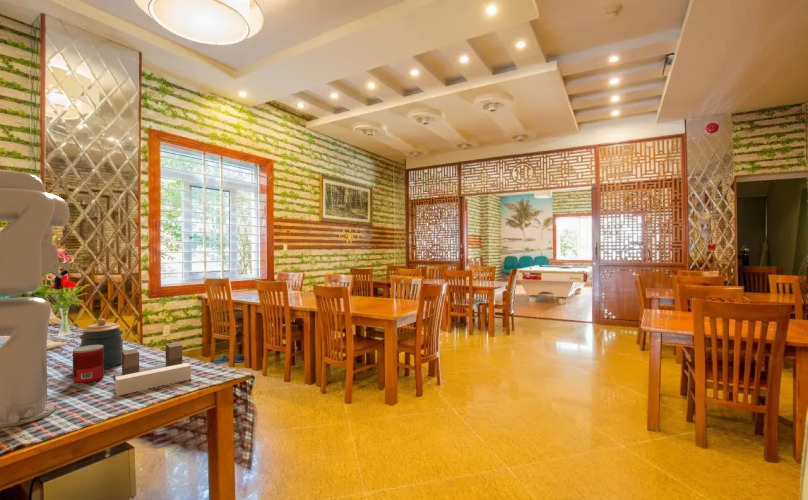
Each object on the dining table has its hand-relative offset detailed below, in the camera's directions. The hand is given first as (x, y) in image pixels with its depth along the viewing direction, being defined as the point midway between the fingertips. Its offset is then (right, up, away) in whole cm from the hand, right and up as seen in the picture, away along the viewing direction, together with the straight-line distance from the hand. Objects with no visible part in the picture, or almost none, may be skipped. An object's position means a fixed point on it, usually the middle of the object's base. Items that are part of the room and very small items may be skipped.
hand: (38, 290), depth 130 cm
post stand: (+38, -30, +3) cm, 48 cm away
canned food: (+21, -30, -4) cm, 37 cm away
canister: (+13, -30, +12) cm, 34 cm away
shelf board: (+46, -30, -9) cm, 56 cm away
